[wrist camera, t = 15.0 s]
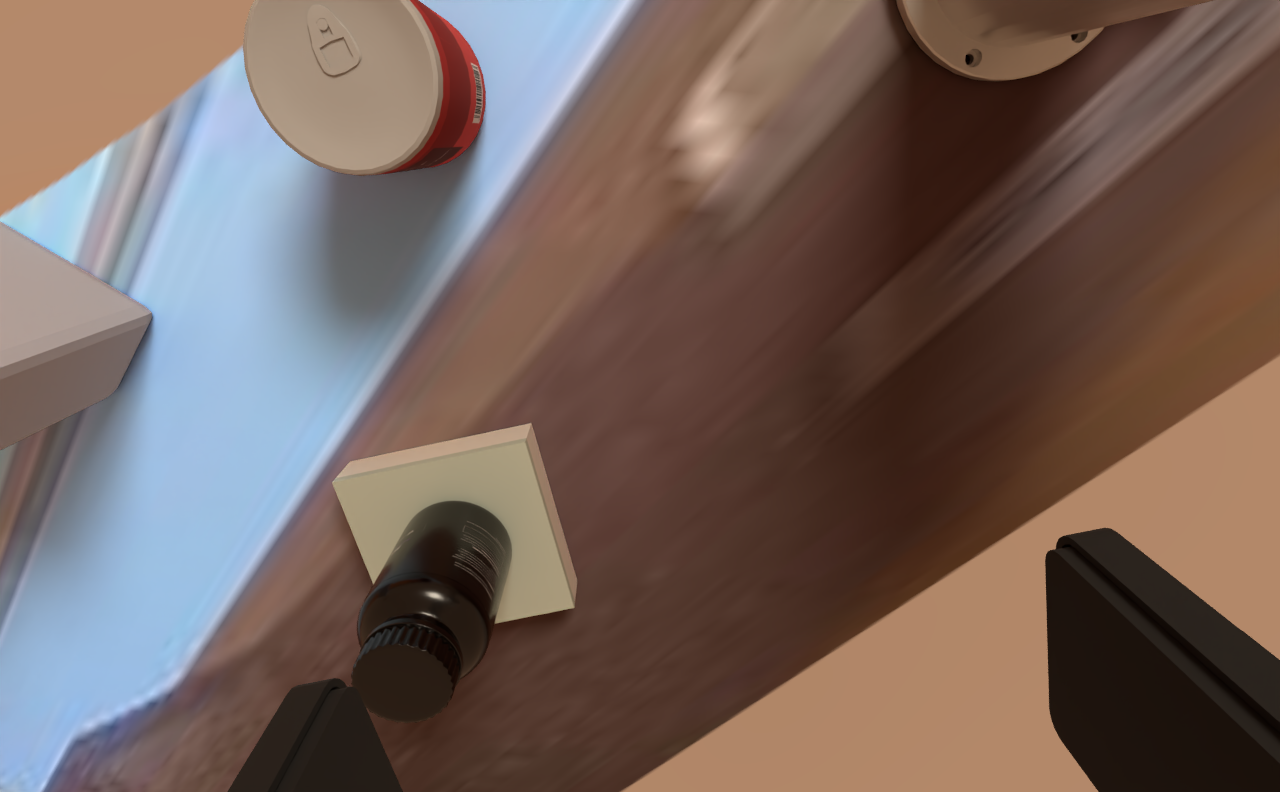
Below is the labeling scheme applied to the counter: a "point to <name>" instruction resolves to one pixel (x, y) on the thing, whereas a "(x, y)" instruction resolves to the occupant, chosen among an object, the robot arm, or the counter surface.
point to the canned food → (364, 82)
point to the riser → (480, 474)
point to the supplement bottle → (431, 610)
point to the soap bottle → (57, 337)
